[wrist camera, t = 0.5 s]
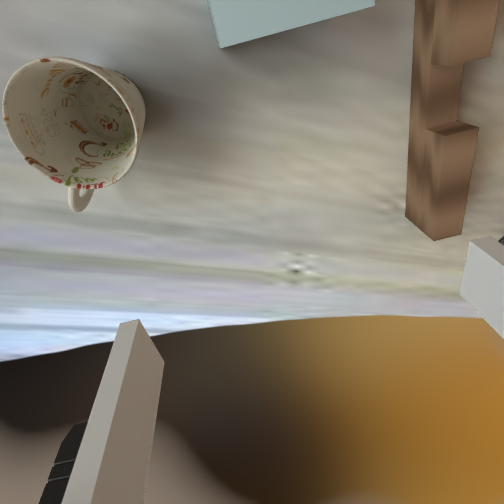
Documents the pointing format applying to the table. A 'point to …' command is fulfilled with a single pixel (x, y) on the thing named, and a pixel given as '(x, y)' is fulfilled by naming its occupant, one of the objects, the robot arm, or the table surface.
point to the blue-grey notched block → (272, 16)
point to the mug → (74, 123)
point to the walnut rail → (443, 110)
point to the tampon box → (501, 241)
